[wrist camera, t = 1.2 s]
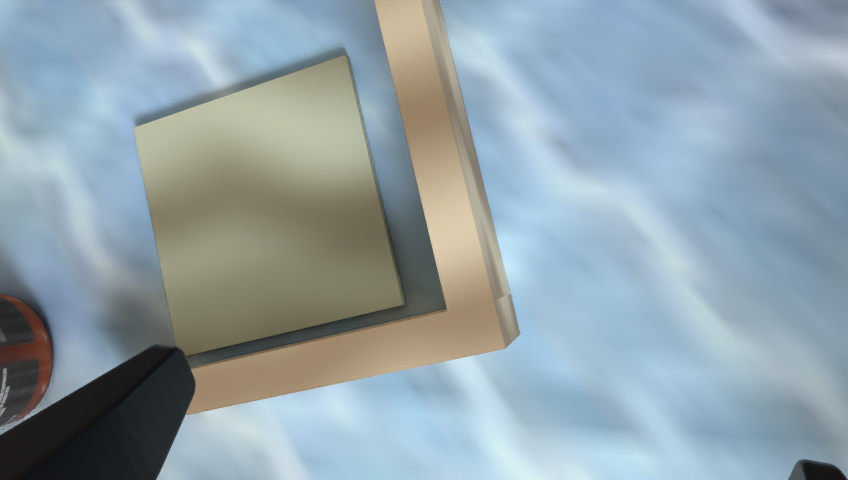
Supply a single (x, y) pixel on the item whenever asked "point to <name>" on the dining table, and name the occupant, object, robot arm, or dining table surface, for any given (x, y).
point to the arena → (321, 223)
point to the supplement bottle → (22, 359)
